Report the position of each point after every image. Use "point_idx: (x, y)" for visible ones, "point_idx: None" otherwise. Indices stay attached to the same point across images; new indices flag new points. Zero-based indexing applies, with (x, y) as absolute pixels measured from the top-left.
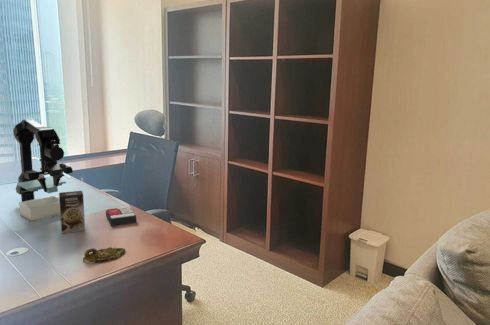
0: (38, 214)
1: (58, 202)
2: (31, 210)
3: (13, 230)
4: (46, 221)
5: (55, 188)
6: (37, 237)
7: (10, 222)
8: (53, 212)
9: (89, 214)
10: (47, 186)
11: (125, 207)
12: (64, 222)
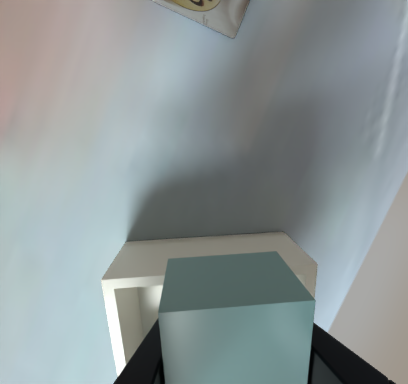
0: (260, 244)
1: (152, 275)
2: (303, 257)
3: (374, 176)
4: (240, 189)
5: (193, 286)
6: (358, 9)
7: (338, 271)
8: (188, 245)
9: (42, 142)
10: (280, 378)
11: None
12: None
